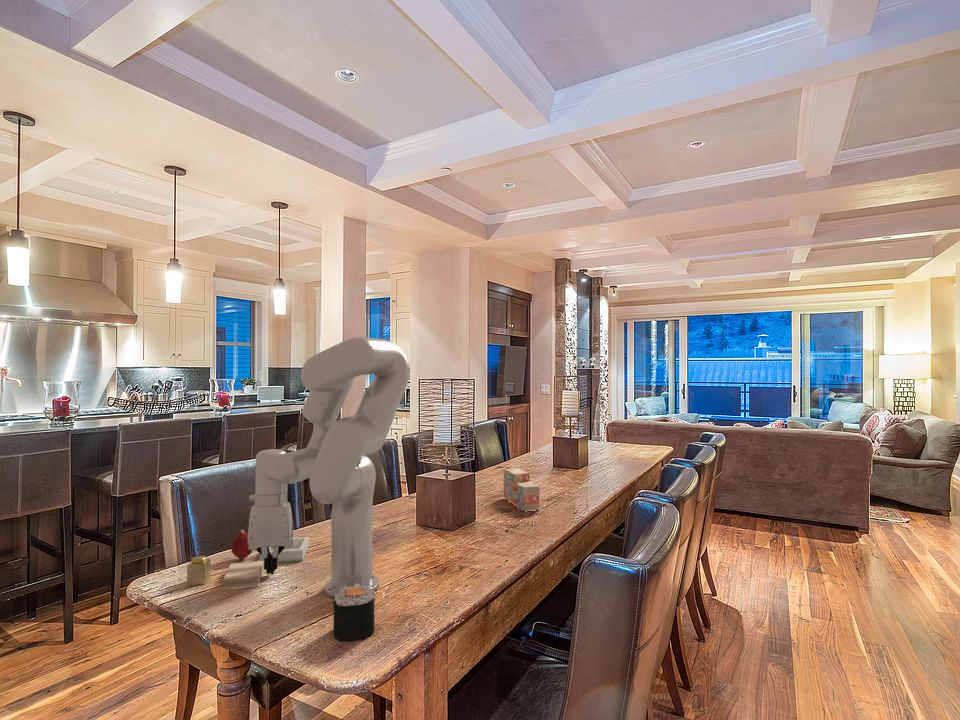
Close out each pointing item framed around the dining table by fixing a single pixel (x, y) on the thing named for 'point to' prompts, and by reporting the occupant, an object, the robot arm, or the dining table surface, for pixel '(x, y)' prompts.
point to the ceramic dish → (293, 551)
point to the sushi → (354, 613)
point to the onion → (241, 545)
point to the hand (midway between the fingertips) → (270, 571)
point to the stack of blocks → (520, 489)
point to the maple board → (243, 575)
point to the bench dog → (198, 570)
